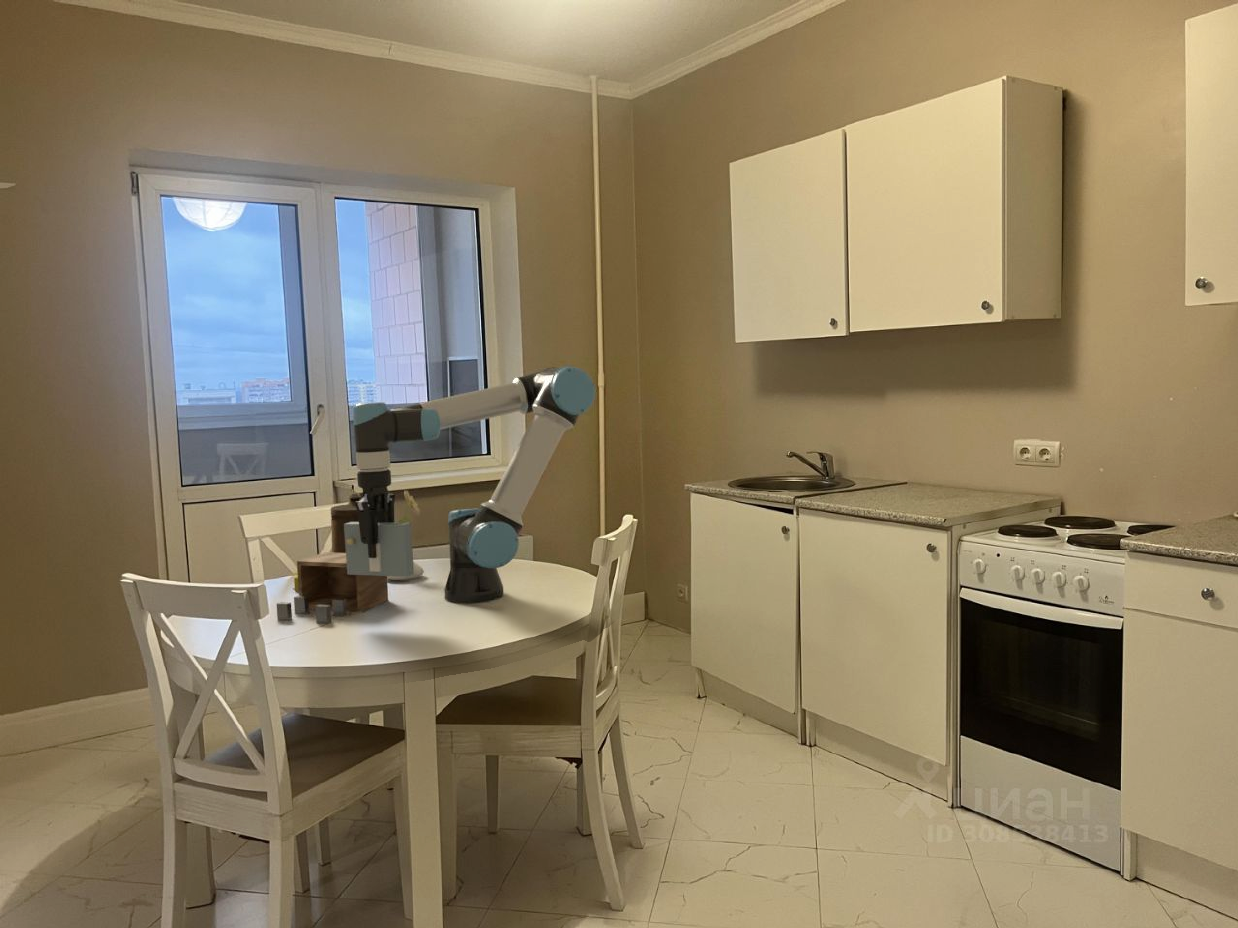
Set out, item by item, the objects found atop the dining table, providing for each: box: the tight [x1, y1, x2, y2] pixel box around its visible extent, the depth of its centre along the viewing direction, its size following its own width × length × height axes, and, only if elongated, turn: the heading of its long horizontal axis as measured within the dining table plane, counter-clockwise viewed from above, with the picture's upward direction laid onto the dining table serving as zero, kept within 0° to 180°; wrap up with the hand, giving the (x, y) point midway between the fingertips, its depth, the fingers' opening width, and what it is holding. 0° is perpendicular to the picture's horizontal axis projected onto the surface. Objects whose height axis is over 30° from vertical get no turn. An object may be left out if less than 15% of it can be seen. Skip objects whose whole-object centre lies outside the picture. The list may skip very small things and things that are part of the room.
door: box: [344, 522, 414, 577], centre depth 218 cm, size 16×4×12 cm, turn 72°
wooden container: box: [330, 493, 373, 553], centre depth 287 cm, size 15×15×22 cm
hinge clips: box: [276, 595, 348, 624], centre depth 225 cm, size 14×8×4 cm, turn 72°
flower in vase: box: [387, 490, 425, 581], centre depth 266 cm, size 13×11×25 cm
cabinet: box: [296, 551, 389, 613], centre depth 237 cm, size 18×12×12 cm, turn 72°
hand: (380, 569), depth 219 cm, fingers closed on door, 3 cm apart
